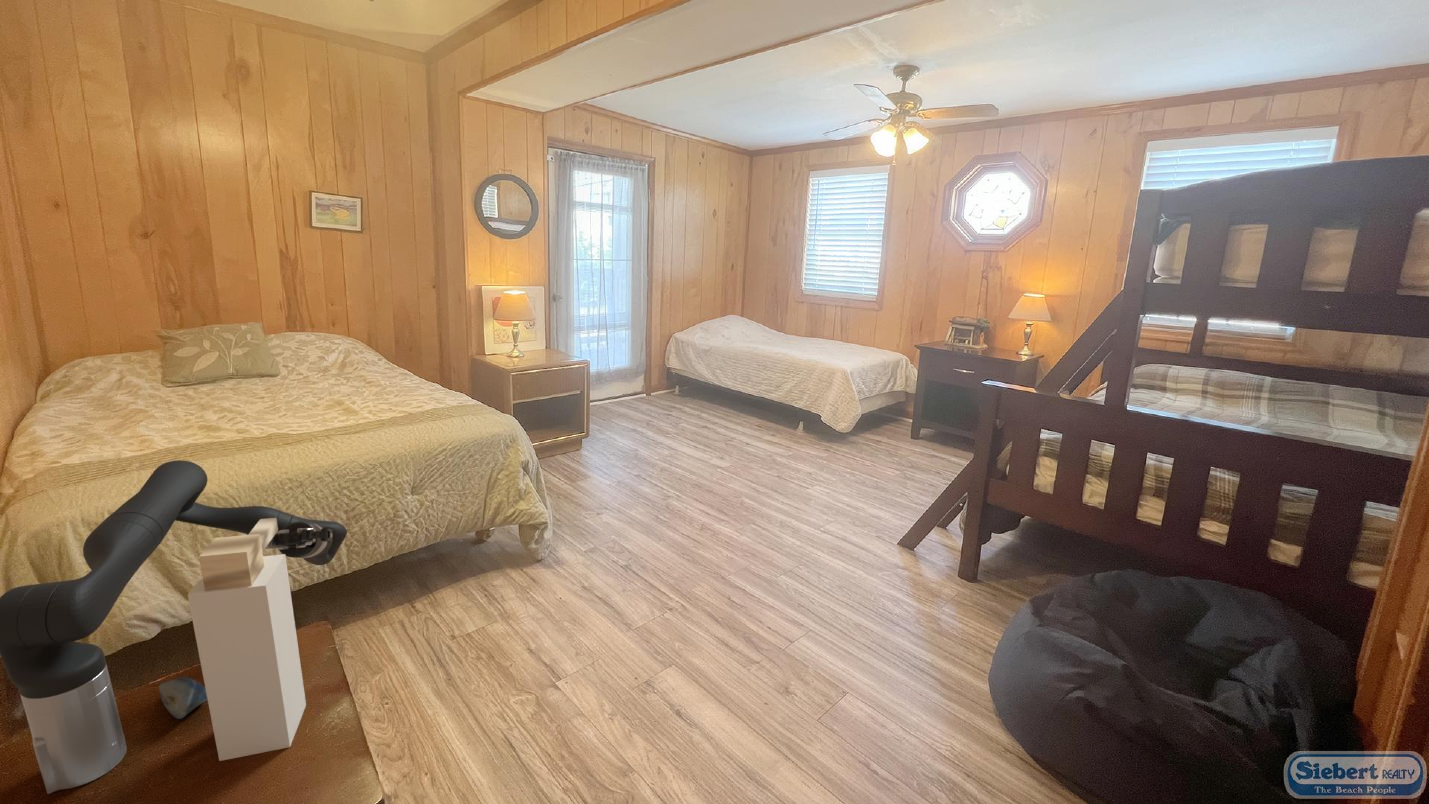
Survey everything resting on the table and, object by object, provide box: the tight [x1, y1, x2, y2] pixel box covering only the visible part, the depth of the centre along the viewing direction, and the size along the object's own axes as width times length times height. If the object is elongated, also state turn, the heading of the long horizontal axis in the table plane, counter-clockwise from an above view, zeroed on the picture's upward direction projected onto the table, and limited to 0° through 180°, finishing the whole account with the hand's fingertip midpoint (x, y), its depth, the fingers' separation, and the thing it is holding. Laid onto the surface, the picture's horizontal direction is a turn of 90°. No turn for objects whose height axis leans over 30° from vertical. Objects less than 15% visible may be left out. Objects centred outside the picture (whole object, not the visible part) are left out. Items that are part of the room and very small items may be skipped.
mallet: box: [198, 518, 278, 591], centre depth 101 cm, size 20×6×6 cm, turn 21°
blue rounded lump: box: [158, 677, 208, 720], centre depth 108 cm, size 6×9×10 cm
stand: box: [187, 553, 307, 762], centre depth 101 cm, size 10×10×32 cm
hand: (278, 537), depth 114 cm, fingers open, 8 cm apart
